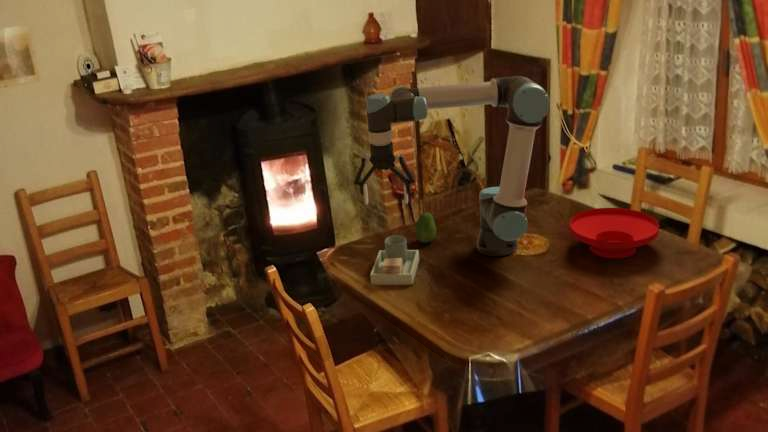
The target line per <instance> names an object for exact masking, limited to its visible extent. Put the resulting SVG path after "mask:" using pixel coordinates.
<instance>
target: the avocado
mask: <svg viewBox="0 0 768 432" xmlns="http://www.w3.org/2000/svg"><path fill="white" fill-rule="evenodd" d="M414 229H415V235H416V238H417V239H418V240H419V242H421V243H424V244H428V243H430V242H432V241H433V240H434V239H435V237H436V234H437V226H436V223H435V219H434V217H433V215H432V214H431V213H430V212H422V213H421V214H420V215H419V217H418V220H417V221H416V224H415V228H414Z"/></svg>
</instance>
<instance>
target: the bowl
mask: <svg viewBox="0 0 768 432" xmlns="http://www.w3.org/2000/svg"><path fill="white" fill-rule="evenodd" d="M568 230H569V233H570V235H571V236H572V237H573V238H575V239H576V240H578V241H579V242H582V243H584V244H587V245H589V250H590V252H591V253H593V254H594V255H596V256H598V257H602V258H607V259H624V258H628V257H631V256H632V255H634V254H635V253H636V251H637V247H640V246H644V245H648V244H650V243H651V242H653V241H655V240H656V239H657V238H658V236H659V231H660V223H659V222H658V220H657V219H656V218H654V217H653V216H651V215H649V214H647V213H645V212H643V211H640V210H635V209H630V208H624V207H623V208H622V207H600V208H599V207H598V208H592V209H588V210H584V211H581V212H579V213H576V214H575V215H574V216H573V217H571V218H570V220H569V229H568Z"/></svg>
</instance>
